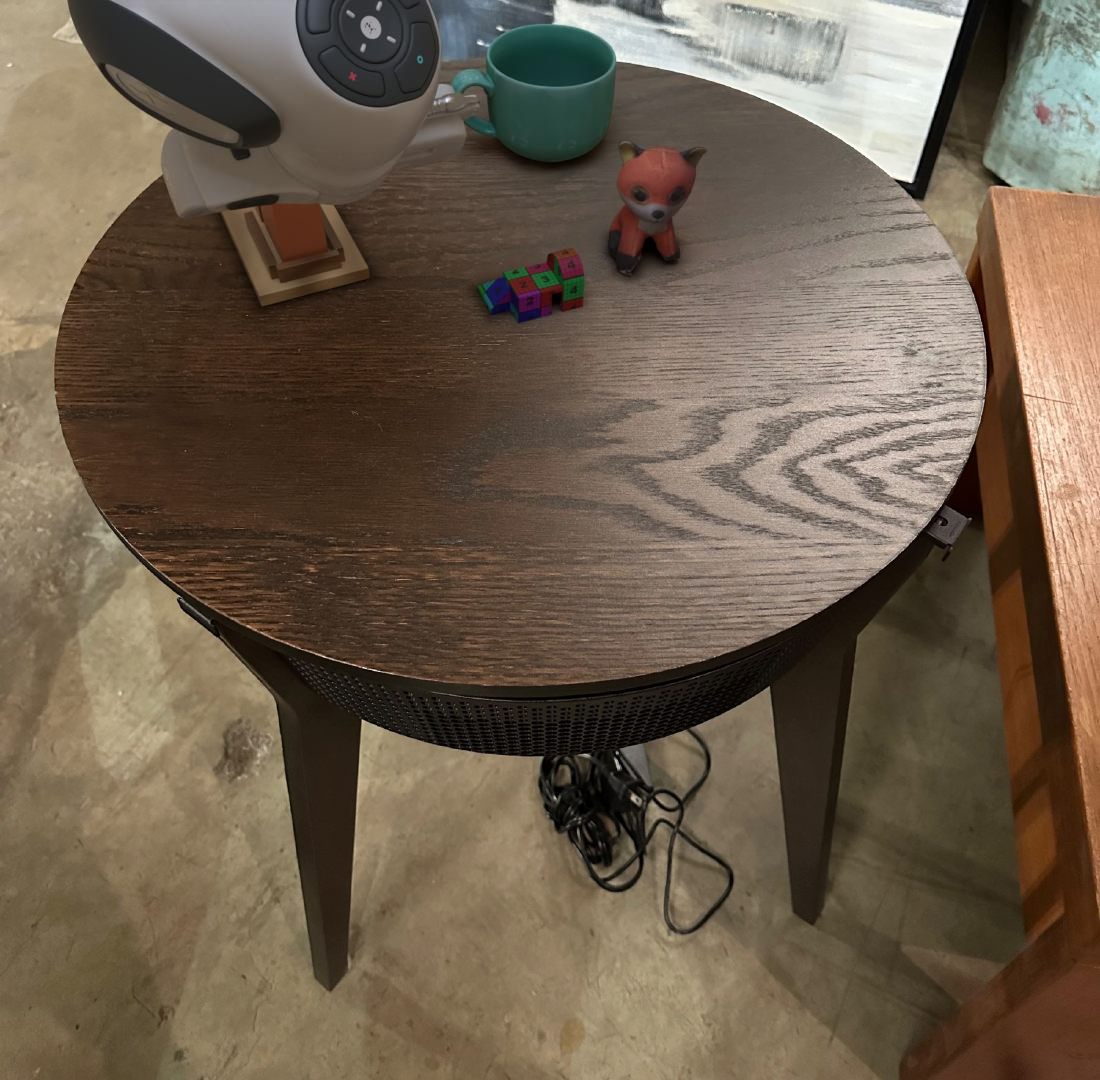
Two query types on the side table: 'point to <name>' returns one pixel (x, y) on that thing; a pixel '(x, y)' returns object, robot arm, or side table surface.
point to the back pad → (295, 229)
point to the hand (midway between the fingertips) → (308, 180)
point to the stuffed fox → (650, 200)
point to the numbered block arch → (537, 287)
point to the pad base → (296, 275)
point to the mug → (545, 91)
